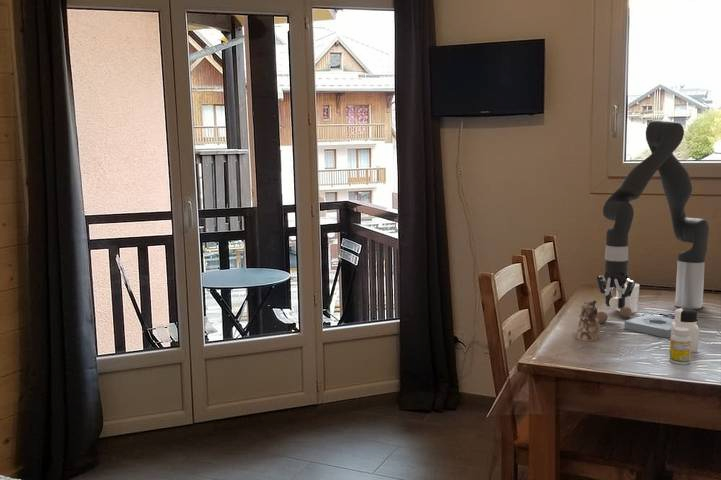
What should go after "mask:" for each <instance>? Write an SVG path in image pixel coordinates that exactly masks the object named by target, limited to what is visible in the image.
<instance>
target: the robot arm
mask: <svg viewBox="0 0 721 480" xmlns="http://www.w3.org/2000/svg"><path fill="white" fill-rule="evenodd" d="M684 135H685V130H684V127H683V125H682V124H681V122H680V123H679V122H677V121H670V120H662V119H656V120H652V121H650V122H649V123H648V124H647V127H646V129H645V138H646V139H645V140H646V142H647V145H648V148H649V150H650V152H651V154H650V155H648V156H647V157H646V158H644V159H643V160H642V161H641V162H639V163H638V164H637V165H635V166H634V167H633V168H632V169H631V170H630V171H629V173H628V174H627V176H626V177H625V179H624V180H623V182H622V184H621V185H620V187H619V188H617V190H615V192H613V194H611V195H610V197H609V198H608V199H607V200H606V201H605V202H604V205H603V207H602V214H603V217H604V218H606V220H610V221H614V224H613V227H610V228H608V229H607V231H606V237H605V238H606V239H605V241H606V243H605V249H604V250H605V252H604V275H599V276H597V277H596V279H597V284H598V288H599V292H600V294H604V295H605V305H606V306H607V307H611V306H610V305H609V300H610V299H611V298H612V297H613V295H612V293H613V290H614V289H617V292H618V295H619V299H618V308H619V309H622V308H623V307H624V306H625V298H626V297H629V296H631V293H632V291H633V288H634V285H635V283H636V281H635V280H631V279H630V278H629V277H628V272H629V233H630V230H631V226H632V222H633V221H634V220H633V219H634V211H635V210H634V207H633V206H632V205H633V204H631V203H630V202H631V201H635V200H637V199H638V198H640V196H641V195H642V194H643V192H644V190H645V189H646V188H647V185H648V183H649V182H650V180H651V179H652V178H653V176H654V175H656V173H657V171H658V174H659V178H660V181H661V184H662V189H663V191H664V194H665V197H666V200H667V204H668V208H669V213H670V218H671V223H672V228H673V233H674V237H675V238H676V240H677V241H679V242H682V243H689V244H690V243H691V244H692V246H691V248H690V249H688V250H684V251H681V252H678V255H677V262H676V263H677V265H676V280H675V281H676V283H675V300H674V301H675V302H674V304H675V305H674V306H676V307H679V308H689V309H693V310H695V309H696V310H697V309H701V308H703V298H704V286H705V284H704V283H705V281H704V280H705V261H706V257H707V251H708V250H707V249H708V241H709V233H710V232H709V230H710V228H709V222H708V221H707V220H706V219H704V218H696V217H688V216H687V215H686V211H685V207H686V204H687V203H688V201H689V200H690V198H691V195H692V191H693V185H692V182H691V177H690V174H689V172H688V170H687V169H686V167H685V166H684V165H683V164H682V162H681V161H680V160H679V159H678V158H677V157H676V156H675V155H674V152H675V151H676V149H678V147H679V145H680V144H681V143H682V141H683V140H684ZM626 282H627V284H626V285H627V288H626V290H625V283H626Z"/></svg>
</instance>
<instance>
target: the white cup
mask: <svg viewBox="0 0 721 480" xmlns="http://www.w3.org/2000/svg"><path fill="white" fill-rule="evenodd" d="M626 284H627V282H626V283H625V290H626V288H627V285H626ZM615 289H616V288H615ZM615 291H616V293H615V294H616V295H615V297H618V298H619V295H618V292H617V289H616V290H615ZM639 292H640V284H639V283H638V282H637V283H636V282H635V285H634V288H633V291H632V293H631V296H629V297H626V298H625V306H628V307H630V308H631V310H632V314H633V313H635V314H636V312H637V310H638V309H637V308H638V303H639V302H638V301H639V294H640V293H639ZM616 310H617V312H619V313H620V309H619V308H616Z"/></svg>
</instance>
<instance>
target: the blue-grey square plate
mask: <svg viewBox="0 0 721 480" xmlns="http://www.w3.org/2000/svg"><path fill="white" fill-rule="evenodd" d="M674 319H675V318H670V317H665V316H659V315H655V314H650V313H649V314H644V315H641V316H638V317H634V318H630V319H627V320H624V323H623V324H624V326H623V329H624V330H629V331H634V332H639V333H643V334H648V335H651V336H652V335H653V336H657V337H662V338H666V339H667V338H671V323H672V322H674Z"/></svg>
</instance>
